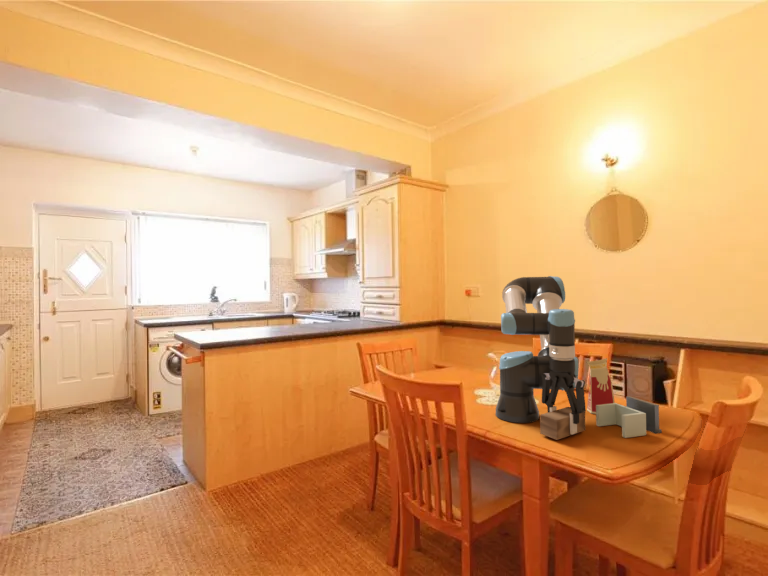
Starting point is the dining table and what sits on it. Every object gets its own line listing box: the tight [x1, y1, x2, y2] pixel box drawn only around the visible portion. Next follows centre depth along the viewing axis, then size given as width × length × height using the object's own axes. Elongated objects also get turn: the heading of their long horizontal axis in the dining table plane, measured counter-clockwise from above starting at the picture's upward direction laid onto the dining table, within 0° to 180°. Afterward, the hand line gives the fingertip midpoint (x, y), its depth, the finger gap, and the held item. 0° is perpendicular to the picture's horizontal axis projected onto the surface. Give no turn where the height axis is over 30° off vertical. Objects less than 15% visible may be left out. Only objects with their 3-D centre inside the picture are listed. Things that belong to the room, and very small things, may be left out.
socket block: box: [595, 402, 647, 439], centre depth 132 cm, size 8×12×7 cm
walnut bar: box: [539, 406, 586, 441], centre depth 129 cm, size 14×6×6 cm, turn 120°
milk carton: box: [585, 358, 615, 415], centre depth 152 cm, size 9×9×20 cm
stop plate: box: [625, 395, 663, 435], centre depth 134 cm, size 2×11×9 cm, turn 14°
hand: (563, 429), depth 129 cm, fingers closed on walnut bar, 6 cm apart
